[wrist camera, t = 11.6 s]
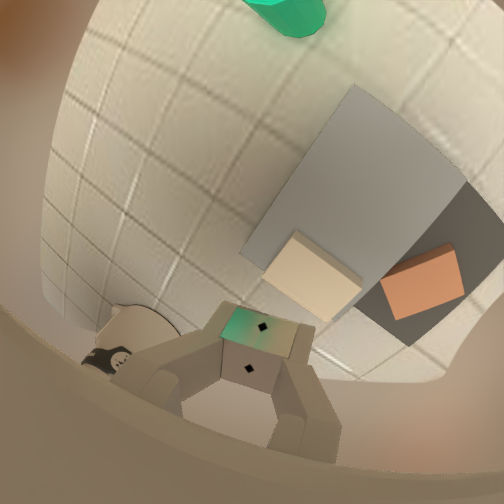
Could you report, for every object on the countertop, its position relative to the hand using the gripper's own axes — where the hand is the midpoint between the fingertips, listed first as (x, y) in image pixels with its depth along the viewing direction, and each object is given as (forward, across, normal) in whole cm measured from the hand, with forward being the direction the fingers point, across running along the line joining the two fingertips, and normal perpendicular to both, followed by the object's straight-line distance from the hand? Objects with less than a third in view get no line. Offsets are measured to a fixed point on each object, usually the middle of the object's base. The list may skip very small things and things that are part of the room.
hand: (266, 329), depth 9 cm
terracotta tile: (+23, -14, +8) cm, 28 cm away
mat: (+24, -15, +7) cm, 29 cm away
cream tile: (+22, -1, +10) cm, 24 cm away
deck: (+24, -3, +3) cm, 24 cm away
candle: (+24, +6, -17) cm, 30 cm away
